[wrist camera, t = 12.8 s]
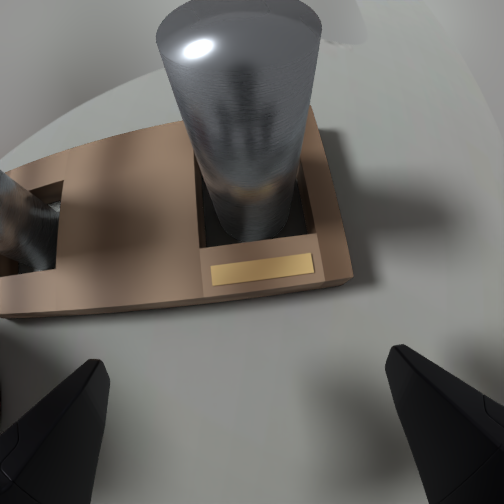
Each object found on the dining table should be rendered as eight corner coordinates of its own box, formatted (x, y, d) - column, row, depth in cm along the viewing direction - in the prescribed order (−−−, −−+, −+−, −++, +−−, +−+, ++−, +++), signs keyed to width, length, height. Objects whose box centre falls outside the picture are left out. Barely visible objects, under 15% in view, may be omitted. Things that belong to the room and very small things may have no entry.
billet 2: (300, 194, 19) (342, 10, 7) (268, 255, 18) (278, 92, 6) (238, 166, 20) (213, -18, 7) (203, 222, 19) (123, 53, 6)
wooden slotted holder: (306, 128, 21) (310, 104, 18) (342, 285, 18) (354, 276, 15) (17, 187, 21) (-1, 174, 18) (5, 318, 18) (-18, 314, 15)
